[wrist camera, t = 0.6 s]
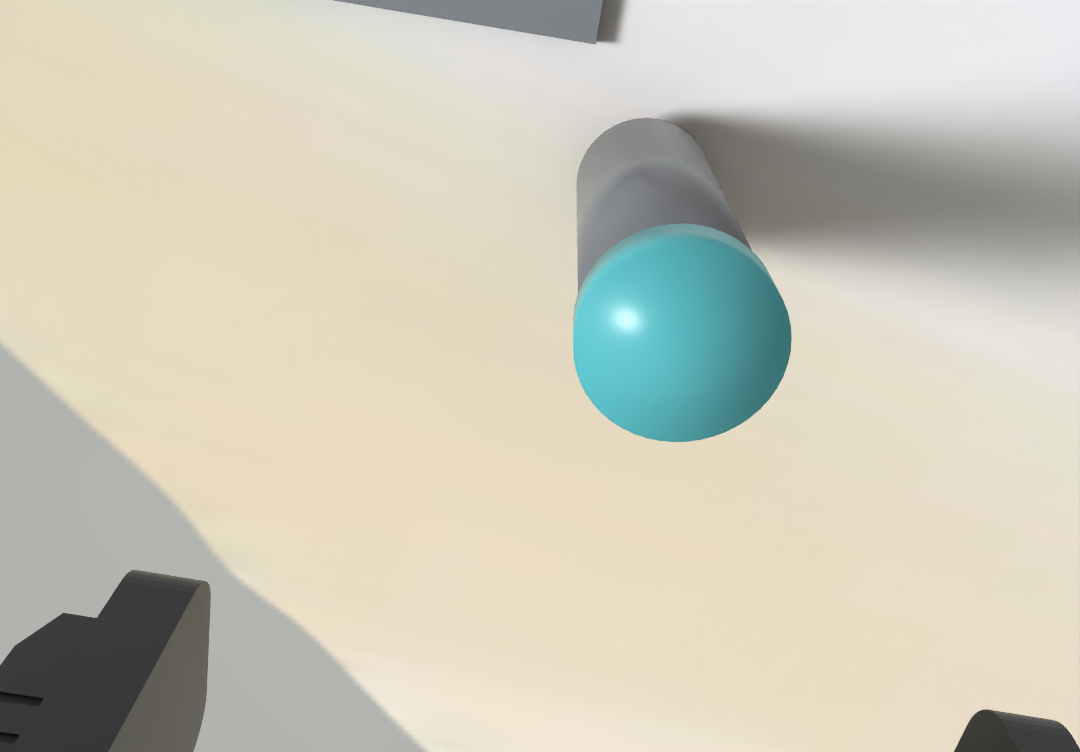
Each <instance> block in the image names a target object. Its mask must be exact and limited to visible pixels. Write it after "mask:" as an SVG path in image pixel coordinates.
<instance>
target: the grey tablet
mask: <svg viewBox="0 0 1080 752" xmlns="http://www.w3.org/2000/svg"><path fill="white" fill-rule="evenodd" d="M335 1H341V2H347V3H353V4H359V5H365V6H371V7H376V8H382V9H388V10H394V11H400V12H406V13H412V14H418V15H424V16H430V17H436V18H442V19H448V20H454V21H460V22H466V23H472V24H478V25H484V26H490V27H496V28H502V29H508V30H514V31H520V32H526V33H531V34H537V35H543V36H549V37H555V38H561V39H567V40H573V41H579V42H585V43H591V44H596V39H597V33H598V28H599V22H600V16H601V10H602V5H603V0H335Z"/></svg>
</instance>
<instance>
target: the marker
mask: <svg viewBox="0 0 1080 752" xmlns="http://www.w3.org/2000/svg"><path fill="white" fill-rule="evenodd" d="M577 244H578V296H577V300H576V304H575V309H574V318H573V346H574V361H575V367H576V371H577V374H578V377H579V380H580V383H581V385H582V387H583V389H584V391H585V393H586V394H587V396H588V397H589V399H590V400H591V401H592V403H593V404H594V405H595V406H596V407H597V409H598V410H599V411H600V412H601V413H602V414H603V415H605V416H606V417H607V418H608V419H609V420H611V421H612V422H613V423H615V424H617V425H618V426H620V427H621V428H623V429H625V430H627V431H629V432H631V433H633V434H636V435H639V436H642V437H645V438H649V439H654V440H659V441H669V442H687V441H695V440H701V439H705V438H709V437H713V436H716V435H718V434H721V433H724V432H726V431H728V430H730V429H732V428H734V427H736V426H738V425H740V424H741V423H743V422H744V421H746V420H747V419H749V418H750V417H751V416H752V415H754V414H755V413H756V412H757V411H758V410H759V409H760V408H761V407H762V406H763V405H764V404H765V403H766V402H767V401H768V400H769V399H770V397H771V396H772V394H773V393H774V392H775V390H776V389H777V387H778V385H779V383H780V381H781V380H782V378H783V375H784V373H785V370H786V367H787V365H788V361H789V356H790V351H791V325H790V321H789V316H788V312H787V309H786V307H785V304H784V302H783V299H782V297H781V295H780V294H779V292H778V290H777V288H776V286H775V284H774V282H773V280H772V278H771V276H770V274H769V272H768V271H767V269H766V267H765V266H764V264H763V263H762V262H761V260H760V259H759V258H758V257H757V255H756V254H755V253H753V252H752V250H751V248H750V246H749V244H748V242H747V240H746V238H745V236H744V234H743V232H742V230H741V228H740V226H739V224H738V221H737V219H736V217H735V215H734V213H733V211H732V209H731V207H730V205H729V203H728V201H727V199H726V197H725V195H724V193H723V191H722V189H721V187H720V185H719V183H718V181H717V179H716V177H715V175H714V173H713V171H712V169H711V167H710V165H709V163H708V161H707V159H706V157H705V155H704V153H703V151H702V150H701V148H700V146H699V145H698V144H697V142H696V141H695V140H694V139H693V138H692V137H691V136H690V135H689V134H688V133H687V132H685V131H684V130H683V129H681V128H680V127H678V126H676V125H674V124H672V123H669V122H666V121H663V120H658V119H650V118H643V119H634V120H629V121H626V122H622V123H620V124H618V125H615V126H613V127H612V128H610V129H608V130H607V131H605V132H604V133H603V134H602V135H600V136H599V137H598V138H597V139H596V140H595V141H594V142H593V143H592V145H591V146H590V147H589V149H588V150H587V152H586V154H585V155H584V157H583V159H582V162H581V164H580V167H579V171H578V176H577Z"/></svg>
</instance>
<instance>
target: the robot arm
mask: <svg viewBox="0 0 1080 752" xmlns="http://www.w3.org/2000/svg"><path fill="white" fill-rule="evenodd" d="M209 623H210V587H209V584H208V582H206V581H201V580H194V579H188V578H182V577H176V576H170V575H163V574H157V573H151V572H145V571H138V570H132V571H130V572H129V573H128V574H126V576H125V577H124V578H123V579H122V581H121V582H120V584H119V585H118V587H117V588H116V590H115V591H114V593H113V594H112V596H111V598H110V599H109V600H108V602H107V603H106V605H105V606H104V608H103V609H102V611H101V613H100V614H99V616H98V617H97V618H92V617H86V616H79V615H73V614H67V613H63V614H61V615H60V616H58V617H57V618H55V619H54V620H52V621H51V622H49V623H48V624H47V625H45V626H44V627H42V628H41V629H39V630H38V631H36V632H35V633H33V634H32V635H30V636H29V637H27V638H26V639H24V640H23V641H21V642H20V643H18V644H17V645H16V646H14V648H13V649H12V650H11V652H10V653H9V654H8V656H7V657H6V658H5V660H4V661H3V663H2V664H1V665H0V752H193V751H194V748H195V745H196V742H197V738H198V735H199V731H200V727H201V724H202V719H203V714H204V709H205V702H206V693H207V671H208V647H209ZM954 752H1080V749H1079V747H1078V745H1077V744H1076V742H1075V740H1074V739H1073V737H1072V735H1071V734H1070V732H1069V731H1068V730H1067V729H1066V728H1065V727H1064V726H1063V725H1062V724H1061V723H1059V722H1057V721H1054V720H1049V719H1043V718H1037V717H1030V716H1024V715H1018V714H1012V713H1005V712H999V711H993V710H981V711H979V712H977V713H976V714H975V715H974V716H973V717H972V718H971V720H970V721H969V723H968V725H967V727H966V729H965V731H964V733H963V735H962V737H961V739H960V741H959V743H958V745H957V747H956V749H955V751H954Z"/></svg>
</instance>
